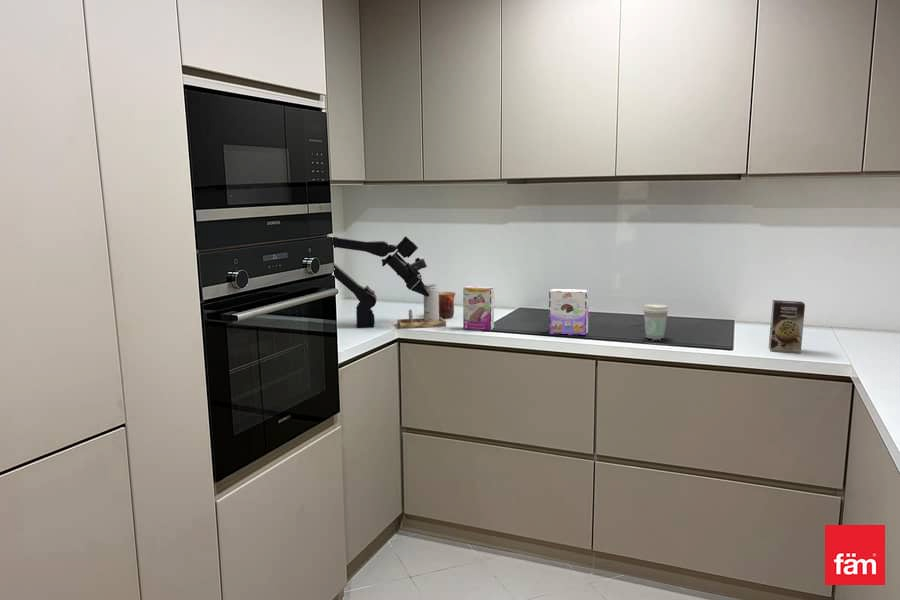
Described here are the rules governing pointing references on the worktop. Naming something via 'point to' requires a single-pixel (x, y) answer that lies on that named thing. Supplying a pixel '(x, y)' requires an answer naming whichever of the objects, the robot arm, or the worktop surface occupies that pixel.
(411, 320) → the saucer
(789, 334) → the brown cookie box
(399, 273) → the robot arm
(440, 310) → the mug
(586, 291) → the candy box
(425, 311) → the energy drink can
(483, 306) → the candy bar box
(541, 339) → the worktop surface
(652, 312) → the coffee cup
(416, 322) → the rack
